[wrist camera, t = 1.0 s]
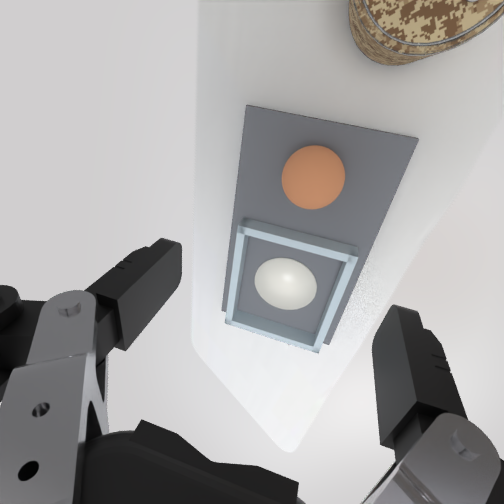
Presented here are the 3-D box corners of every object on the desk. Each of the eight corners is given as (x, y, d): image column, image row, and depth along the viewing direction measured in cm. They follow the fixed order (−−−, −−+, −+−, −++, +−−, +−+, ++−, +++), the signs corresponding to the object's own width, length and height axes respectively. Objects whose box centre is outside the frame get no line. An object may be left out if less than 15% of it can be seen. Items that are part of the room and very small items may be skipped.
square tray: (244, 217, 29) (237, 225, 28) (357, 247, 28) (358, 257, 26) (230, 312, 37) (224, 323, 35) (319, 340, 35) (318, 353, 33)
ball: (294, 134, 24) (283, 145, 20) (353, 147, 24) (354, 160, 19) (282, 190, 27) (270, 210, 23) (335, 203, 26) (333, 225, 22)
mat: (248, 105, 25) (246, 105, 24) (417, 138, 22) (418, 139, 22) (223, 307, 38) (221, 310, 37) (329, 341, 35) (328, 345, 35)
